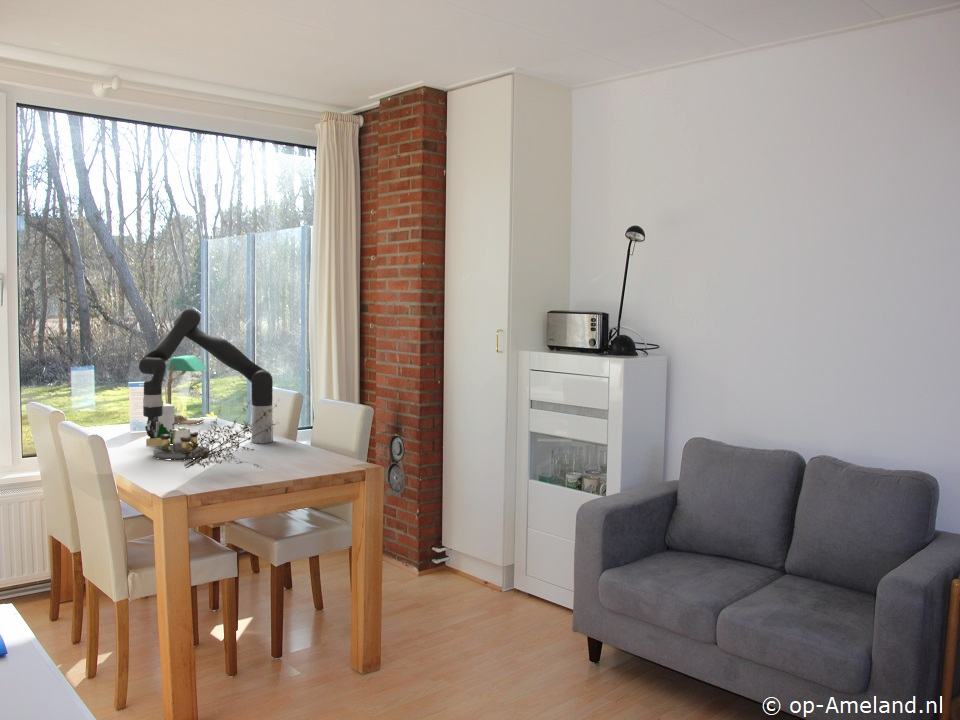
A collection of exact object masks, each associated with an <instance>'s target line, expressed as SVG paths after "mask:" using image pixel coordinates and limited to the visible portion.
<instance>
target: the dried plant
mask: <svg viewBox="0 0 960 720" xmlns="http://www.w3.org/2000/svg"><path fill="white" fill-rule="evenodd" d="M279 402H281V401H280V399H279V397H278V403H279ZM247 404H248V405H246V406H244V407H243V408H242V410H243V412H246V410H247V409H248V408H249V405H250V404H251V402H248V403H247ZM274 405H275V406H274V408H275V407H276V408H277V407H278V406H277V404H274ZM245 407H246V408H245ZM217 409H218V410H217V411H218V414H220V412H221V411H222V410H221V409H222V407H221V406H219V408H217ZM267 411H268V412H272V413H273V408H272V409H271V410H267ZM262 412H263V414H264V415H266V414H267V413H268V412H267V413H266V411H265V412H264V411H262ZM241 415H243V413H241V414H240V415H239V417H241ZM259 415H260V413H259ZM264 415H263V416H264ZM263 416H262V417H260V419H262V418H263ZM267 416H268V415H266V417H267ZM260 419H258V420H257V421H259V420H260ZM217 420H218V418H214V419H213V420H211V421H210V423H212V424H210V426H211V429H212V430H213V431H212V430H211V429H209V428H210V427H209V426H208V427H207V432H203V434H201V430H198V436H197V435H196V436H197V441H199V442H197V445H196V446H195V443H194V442H193V443H194V446H192V444H191V443H188V445H190V447H192V449H193V450H192V449H191V450H190V453H191V452H192V453H193V451H194V449H195V448H196V447H197V448H198V447H199V446H200V447H201V446H203V448H202V447H201V448H200V447H199V448H200V449H199V448H198V449H199V450H198V449H197V450H198V451H199V452H200V453H201V454H204V455H205V456H204V455H202V456H203V457H202V456H201V454H200V453H199V452H198V451H197V452H198V453H199V454H200V455H199V454H198V455H199V456H200V457H201V458H200V457H199V456H197V457H198V458H197V457H196V458H195V457H194V454H195V455H196V453H197V452H196V451H195V452H196V453H195V452H194V454H193V455H192V457H194V458H195V459H191V461H190V460H188V459H190V458H192V457H191V456H190V457H189V458H188V455H189V454H190V453H189V454H186V455H185V456H186V458H187V460H186V459H185V460H181V459H180V460H179V461H181V463H183V462H186V461H189V462H187V463H185V464H184V466H183V467H185V469H189V468H190V467H193V466H195V465H199V466H200V467H202V466H203V468H204V469H205V468H206V466H210V465H211V464H214V465H216V464H220V465H221V464H222V462H223V460H224V461H227V462H228V463H232V462H231V460H233V459H234V463H236V464H242V463H243V464H245V463H248V462H244V461H241V460H240V458H236V457H235V456H234V453H235V452H237V451H238V450H239V448H241V451H243V452H244V451H247V452H249V451H250V450H251V451H256V449H255V448H252V449H251V448H249V447H245V446H241V444H242V443H244V442H246V441H249V442H250V441H251V442H250V446H251V445H253V444H252V441H253V440H252V439H255V437H254V438H252V437H253V436H252V435H251V436H248V437H247V436H246V435H248V434H249V433H250V434H252V429H254V428H252V426H253V424H254V423H255V422H254V423H253V424H252V423H251V424H249V421H248V420H247V421H246V420H242V422H243V423H244V424H243V423H241V425H239V428H240V429H242V430H238V429H237V430H236V429H235V430H234V432H235V433H234V432H233V430H232V429H234V428H235V426H236V422H238V419H235V420H234V421H233V424H232V425H231V426H230V425H225V426H223V428H221V427H220V426H218V428H219V430H216V429H217V425H218V422H217ZM257 421H256V422H257ZM271 424H272V423H271ZM272 425H273V426H276V425H280V422H279V421H277V423H273V424H272ZM213 427H214V428H213ZM226 427H227V428H228V429H225V428H226ZM266 427H267V425H266ZM268 427H269V426H268ZM270 427H271V426H270ZM270 427H269V428H270ZM259 428H261V427H259ZM269 428H268V429H269ZM268 429H265V430H266V431H267V430H268ZM265 430H264V431H265ZM270 431H271V428H270ZM209 432H210V433H209ZM262 432H263V431H262ZM213 433H214V434H213ZM260 433H261V432H260ZM267 433H268V431H267ZM212 434H213V435H212ZM221 434H223V435H221ZM258 434H259V433H258ZM216 435H217V438H215V436H216ZM256 435H257V434H256ZM266 435H267V434H266ZM254 436H255V435H254ZM220 438H222V440H221V439H220ZM242 439H244V440H242ZM192 441H193V439H192ZM240 441H241V442H240ZM216 443H218V446H216V447H215V448H214V445H215V444H216ZM199 444H200V445H199ZM226 444H230V445H229V446H227V445H226ZM210 446H211V450H210ZM204 447H206V449H207V448H208V449H207V450H209V451H208V452H206V449H205V448H204ZM233 448H235V451H234V449H233ZM204 449H205V452H204V453H203V452H202V450H204ZM200 450H201V451H200ZM208 453H209V454H208ZM224 453H225V454H224ZM207 454H208V455H207ZM184 458H185V457H184ZM220 458H221V459H220ZM182 459H183V458H182ZM207 459H208V460H207ZM212 459H213V460H212ZM235 459H236V460H235ZM202 461H203V462H202ZM215 463H216V464H215ZM253 465H254V466H253V467H259V466H260V465H258V464H256V463H253Z"/></svg>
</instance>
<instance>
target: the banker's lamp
mask: <svg viewBox="0 0 960 720" xmlns="http://www.w3.org/2000/svg"><path fill="white" fill-rule="evenodd" d="M205 370H206V371H207V370H208V368H207V366H205V364H203V362H202V361H201V360H200V359H199V357H197V356H195V355H180V356H174V357H170V358H169V363H168V367H167V371H168V372H169V373H168V381H167V385H166V386H167V387H166V388H167V389H166V393H167V394H166V395H167V397H166V398H167V400H166V401H167V402H166V404H171V405H172V383H173V381H174V380H175V379H176V378H178V377H181V376H183V375H185V374H186V372H202V371H205ZM173 372H179V373H178V374H177V373H176V374H175V375H174V376H172V375H173ZM202 421H203V422H204V419H203V418H202V419H199V420H198V419H188V418H187V417H185V416H184V415H180V414H175V413H174V423H179V424H178V425H181V424H197V423H200V422H202Z"/></svg>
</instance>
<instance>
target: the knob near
mask: <svg viewBox="0 0 960 720" xmlns="http://www.w3.org/2000/svg"><path fill="white" fill-rule="evenodd" d="M196 435H197V436H198V437H199V431H190V437H192V439H193V441H192V440H191V443H193V442H194V443H195V446H196V445H197V443H198V437H197V436H196ZM194 443H193V446H194ZM196 448H197V447H196Z"/></svg>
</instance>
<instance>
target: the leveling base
mask: <svg viewBox="0 0 960 720" xmlns="http://www.w3.org/2000/svg"><path fill="white" fill-rule="evenodd" d="M190 432H191V428H190V427H189V428H188V427H185V426H180V427H177V428H175V427H174V429H173V445H170V450H161V447H160V448H156V449H155V450H153V458H154V457H155V459H156V458H159V459H158V460H161V459H171V460H170V461H184V459H187V458H186V456H185V455H186V454H189V453H181V440H180V438H181V437H190ZM198 446H199V447H200V446H201V445H198ZM199 447H198V448H199ZM201 447H202V448H203V447H204V445H203V446H201ZM201 447H200V448H201ZM198 448H195V449H194V451H193V453H192V452H191V453H190V454H189V455H188V458H189V457H190V456H191V457H192V455H193V454H194V452H195V451H196V452H197V451H198V450H199V449H200V448H199V449H198ZM204 448H205V449H206V446H205V447H204ZM197 449H198V450H197ZM205 449H204V450H202V452H203V453H204V452H205ZM207 449H208V447H207ZM207 449H206V452H208V451H209V450H210V449H209V450H207ZM200 451H201V450H200ZM196 452H195V453H196ZM198 452H199V451H198ZM198 452H197V453H196V455H195V454H194V457H195V458H196V457H197V456H199V455H200V454H201V453H200V452H199V453H200V454H199V453H198ZM198 454H199V455H198ZM208 454H210V453H208ZM208 454H207V455H208ZM202 455H204V454H201V456H202ZM204 456H205V455H204ZM184 457H185V458H184ZM194 457H192V458H190V459H191V460H194V459H193V458H194ZM199 457H200V456H199ZM202 457H203V456H202ZM182 458H183V459H182ZM197 458H198V457H197ZM180 459H181V460H180Z"/></svg>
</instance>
